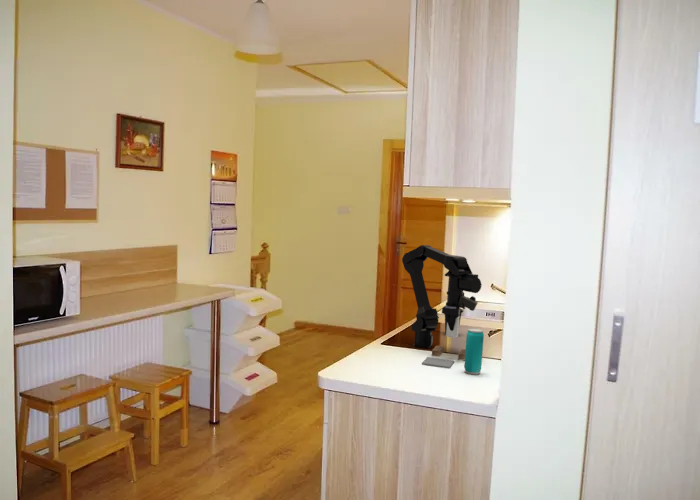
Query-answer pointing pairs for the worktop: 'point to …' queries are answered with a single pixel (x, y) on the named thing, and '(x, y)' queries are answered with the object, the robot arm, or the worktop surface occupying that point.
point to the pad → (438, 362)
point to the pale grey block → (455, 330)
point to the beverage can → (474, 351)
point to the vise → (440, 349)
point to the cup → (446, 322)
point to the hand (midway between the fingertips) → (452, 329)
